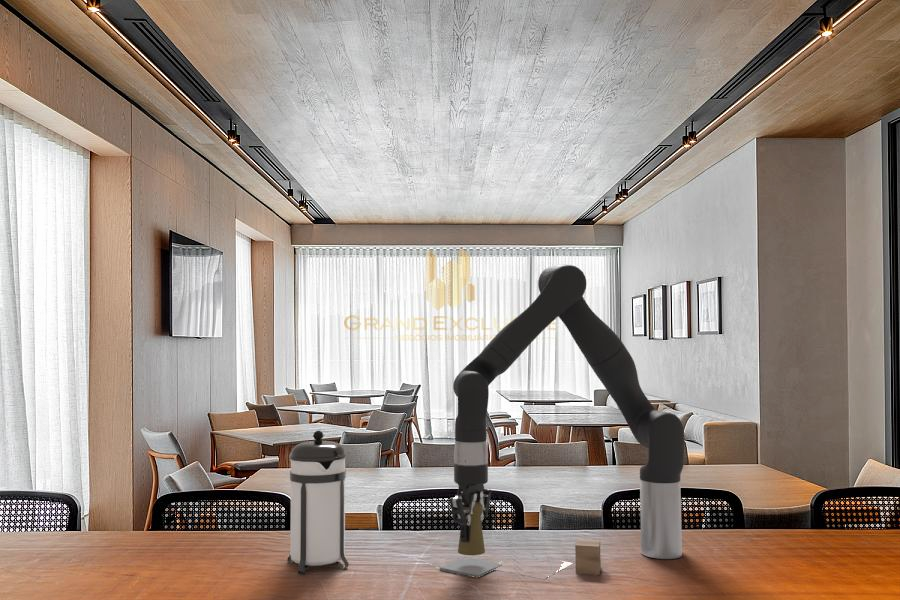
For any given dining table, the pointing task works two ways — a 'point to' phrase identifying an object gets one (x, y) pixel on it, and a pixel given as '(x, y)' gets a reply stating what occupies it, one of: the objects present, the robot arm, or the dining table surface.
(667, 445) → the robot arm
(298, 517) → the coffee press
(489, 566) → the slate coaster
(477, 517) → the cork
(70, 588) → the dining table surface
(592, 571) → the walnut block
